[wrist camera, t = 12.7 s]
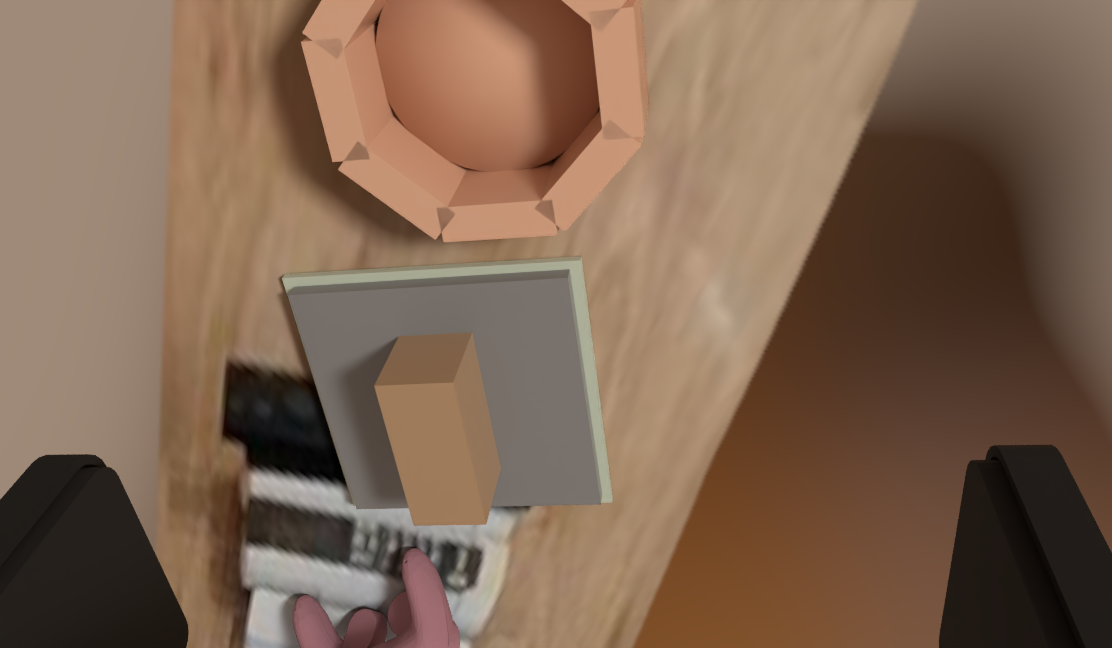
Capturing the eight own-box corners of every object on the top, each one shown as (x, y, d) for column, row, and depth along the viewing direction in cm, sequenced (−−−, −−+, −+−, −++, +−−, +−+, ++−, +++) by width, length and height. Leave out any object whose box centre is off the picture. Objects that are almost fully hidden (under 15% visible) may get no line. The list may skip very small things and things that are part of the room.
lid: (294, 286, 44) (253, 342, 40) (569, 269, 41) (556, 325, 37) (361, 498, 50) (332, 564, 46) (602, 493, 48) (593, 562, 44)
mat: (284, 274, 44) (281, 278, 43) (581, 256, 41) (580, 260, 41) (355, 501, 51) (353, 506, 51) (612, 497, 49) (611, 502, 48)
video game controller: (341, 612, 58) (341, 730, 54) (285, 595, 55) (281, 720, 51) (466, 559, 55) (477, 682, 50) (414, 538, 51) (422, 668, 47)
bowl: (311, -86, 35) (272, -68, 32) (630, -127, 33) (623, -112, 30) (382, 207, 41) (355, 248, 38) (655, 187, 39) (652, 228, 36)
